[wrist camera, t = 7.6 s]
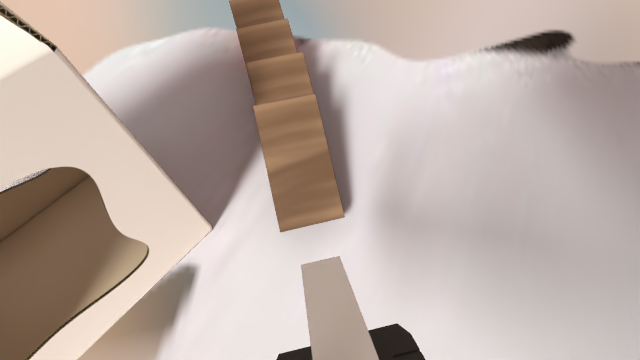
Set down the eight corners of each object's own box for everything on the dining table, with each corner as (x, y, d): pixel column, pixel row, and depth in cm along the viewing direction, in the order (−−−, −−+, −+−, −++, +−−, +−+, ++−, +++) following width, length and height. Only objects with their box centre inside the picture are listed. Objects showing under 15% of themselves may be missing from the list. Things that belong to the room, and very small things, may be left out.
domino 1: (302, 78, 32) (275, -9, 33) (254, 90, 32) (229, 0, 33) (301, 87, 34) (277, 5, 35) (256, 98, 34) (232, 14, 35)
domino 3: (330, 161, 27) (302, 51, 28) (272, 174, 26) (246, 62, 27) (327, 165, 29) (302, 63, 30) (274, 177, 28) (249, 74, 29)
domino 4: (344, 217, 24) (315, 93, 25) (280, 232, 24) (252, 106, 25) (340, 217, 26) (313, 103, 27) (281, 231, 26) (256, 115, 27)
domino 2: (315, 116, 30) (287, 18, 30) (263, 129, 29) (236, 29, 30) (313, 123, 32) (287, 31, 33) (265, 135, 31) (240, 41, 32)
